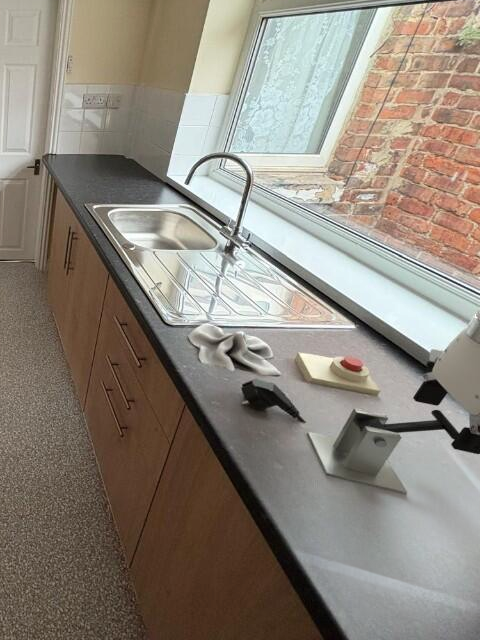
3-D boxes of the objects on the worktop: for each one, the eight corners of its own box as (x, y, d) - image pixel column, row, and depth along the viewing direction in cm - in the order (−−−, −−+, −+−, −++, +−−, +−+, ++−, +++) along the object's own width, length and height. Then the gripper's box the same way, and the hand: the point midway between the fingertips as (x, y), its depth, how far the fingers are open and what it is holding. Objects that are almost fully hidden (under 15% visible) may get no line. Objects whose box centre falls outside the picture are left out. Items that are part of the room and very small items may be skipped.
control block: (356, 370, 95) (363, 356, 93) (376, 398, 87) (384, 384, 85) (294, 359, 98) (300, 345, 97) (308, 385, 91) (315, 371, 89)
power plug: (312, 434, 78) (262, 385, 80) (274, 445, 83) (228, 399, 85) (311, 415, 82) (264, 369, 84) (275, 426, 87) (231, 383, 89)
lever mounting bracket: (376, 452, 76) (403, 410, 71) (403, 498, 68) (436, 454, 63) (304, 436, 79) (326, 395, 74) (323, 478, 71) (348, 435, 67)
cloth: (186, 321, 112) (191, 302, 109) (266, 336, 106) (273, 316, 103) (192, 376, 94) (199, 354, 91) (289, 398, 88) (300, 376, 85)
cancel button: (355, 364, 91) (359, 357, 91) (362, 373, 89) (366, 367, 88) (338, 360, 92) (341, 354, 92) (344, 370, 90) (348, 364, 89)
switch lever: (442, 417, 67) (439, 406, 67) (463, 442, 63) (460, 430, 63) (356, 424, 73) (353, 414, 72) (370, 447, 68) (367, 437, 68)
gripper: (605, 387, 49) (519, 480, 57) (496, 309, 64) (439, 392, 71) (521, 372, 51) (449, 464, 59) (434, 300, 66) (385, 381, 74)
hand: (443, 424), depth 65 cm, fingers open, 9 cm apart
